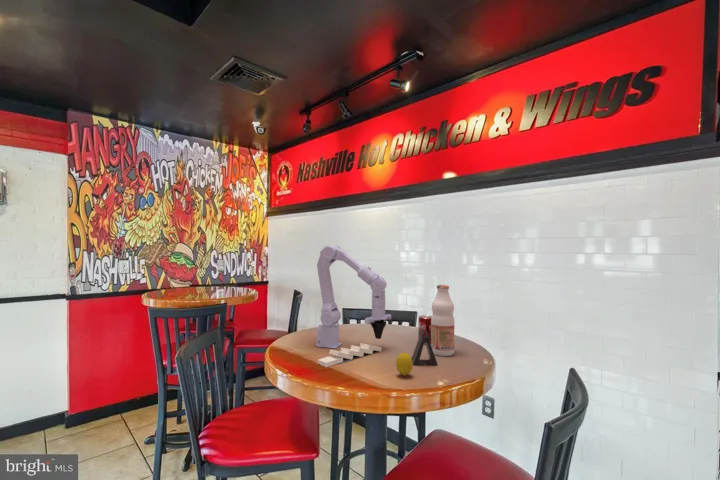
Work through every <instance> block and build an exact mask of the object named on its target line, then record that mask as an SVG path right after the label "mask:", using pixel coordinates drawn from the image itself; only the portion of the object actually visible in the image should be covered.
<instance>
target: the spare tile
mask: <svg viewBox="0 0 720 480" xmlns="http://www.w3.org/2000/svg"><path fill="white" fill-rule="evenodd" d="M341 362H343V358H342V357H338V356H335V355H332V354H330V355H329V356H326V357H322V358H319V359H317V365H319V364H320V365H319V366H322V367H323V368H328V367H332V366H335V365H337V364H338V363H341ZM338 365H339V364H338Z"/></svg>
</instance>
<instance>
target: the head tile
mask: <svg viewBox="0 0 720 480" xmlns="http://www.w3.org/2000/svg"><path fill="white" fill-rule="evenodd" d="M359 347H362V348H366V349H369V350H373V351H376V352H382V349H383V348H382V347H381V346H379V345H378V346H377V345H373V344H370V343H369V344H368V343H364V342H360V345H359Z"/></svg>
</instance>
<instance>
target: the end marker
mask: <svg viewBox="0 0 720 480" xmlns="http://www.w3.org/2000/svg"><path fill="white" fill-rule="evenodd" d="M351 361H353V359H352V360H351V359H347V358H343V362H341V363H338V365H341V364H344V363H348V362H351Z"/></svg>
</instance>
